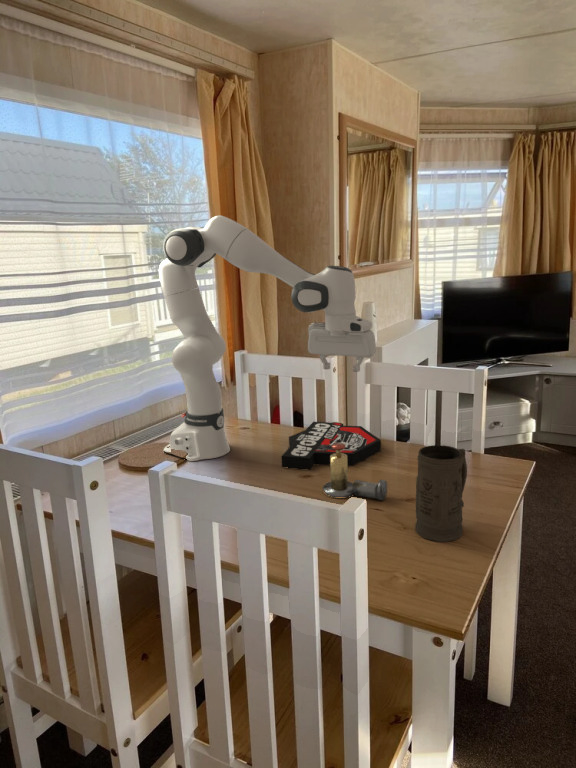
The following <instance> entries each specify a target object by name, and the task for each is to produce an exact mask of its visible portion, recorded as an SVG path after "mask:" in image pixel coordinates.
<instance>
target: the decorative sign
mask: <svg viewBox="0 0 576 768" xmlns="http://www.w3.org/2000/svg"><path fill="white" fill-rule="evenodd" d="M334 443H343V444H345V449H343V450H341V453H343V454H346V455H347V466H348V467H354V466H356V465H358V464H359V463H361V462H363V461H365V460H367V459H368V458H371V457H372V456H374V455H376V454H378V453H380V452H381V451H382V447H381V446H382V440H381V439H380V438H378V437H377V436H376V435H374V433H371V432H370V431H369V430H367V429H365V428H364V427H363V426H362V425H361V426H360V425H344V423H342V422H337V421H334V422H329V421H328V422H326V421H313V422H311V423H310V424H309V426H308V427H307V428H306V429H304V430H303V431H300V432H298V433H295V434H293V435H290V436H288V448H287V449H286V451H284V452H283V454H282V455H281V457H280V458H281V468H282V467H288V468H287V469H290V468H297V469H296V470H301V469H308V470H307V471H311V470H312V468H313V467H314V466H315V465H314V464H319V465H320V466H321V465H322V466H330V455H332V454H334V453H336V450H333V449H332V444H334ZM357 463H358V464H357ZM313 465H314V466H313ZM319 465H318V466H319ZM310 469H311V470H310Z"/></svg>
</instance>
